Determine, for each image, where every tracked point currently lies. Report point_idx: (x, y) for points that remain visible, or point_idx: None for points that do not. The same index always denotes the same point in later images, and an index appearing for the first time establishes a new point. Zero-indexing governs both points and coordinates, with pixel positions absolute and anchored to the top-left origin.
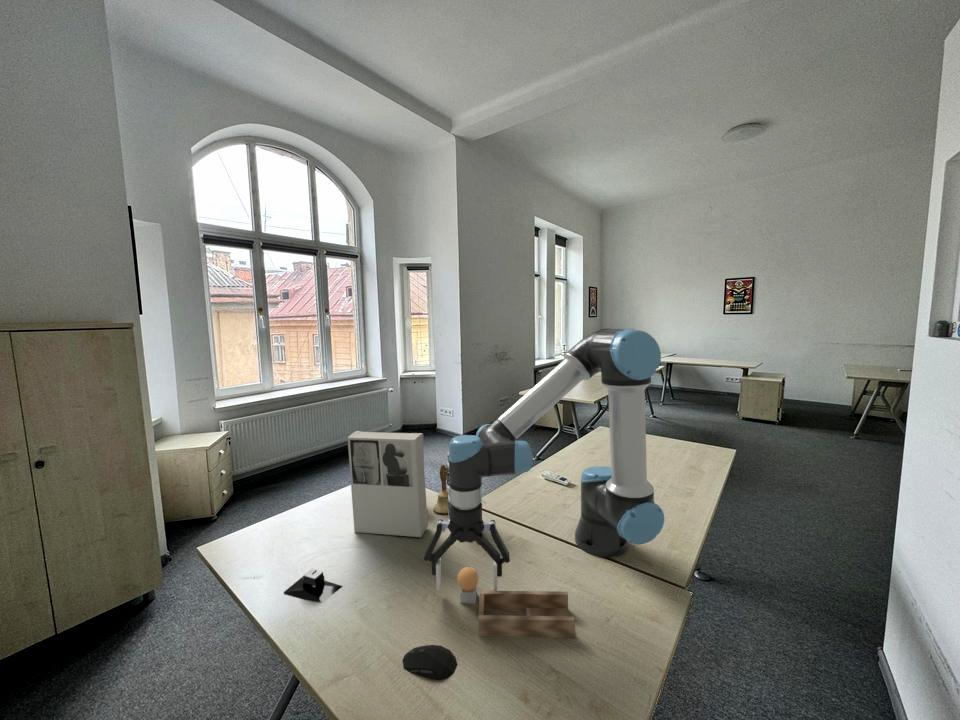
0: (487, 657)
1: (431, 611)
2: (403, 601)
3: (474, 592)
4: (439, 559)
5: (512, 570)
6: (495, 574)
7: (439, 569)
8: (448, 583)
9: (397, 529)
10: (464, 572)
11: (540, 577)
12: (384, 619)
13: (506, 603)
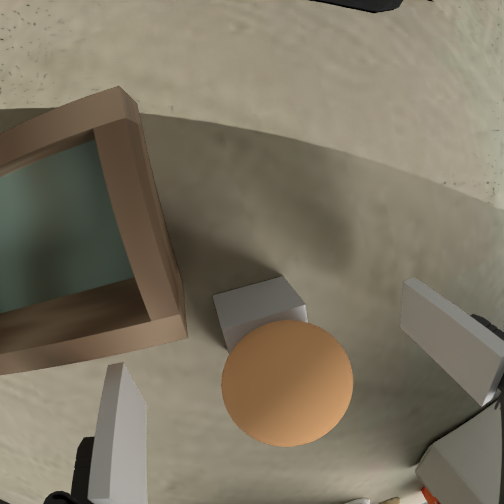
0: (80, 29)
1: (388, 207)
2: (468, 230)
3: (227, 333)
4: (489, 392)
5: None
6: (103, 445)
7: (473, 345)
8: (352, 359)
9: (481, 426)
10: (326, 403)
11: (46, 452)
12: (491, 147)
13: (49, 316)
